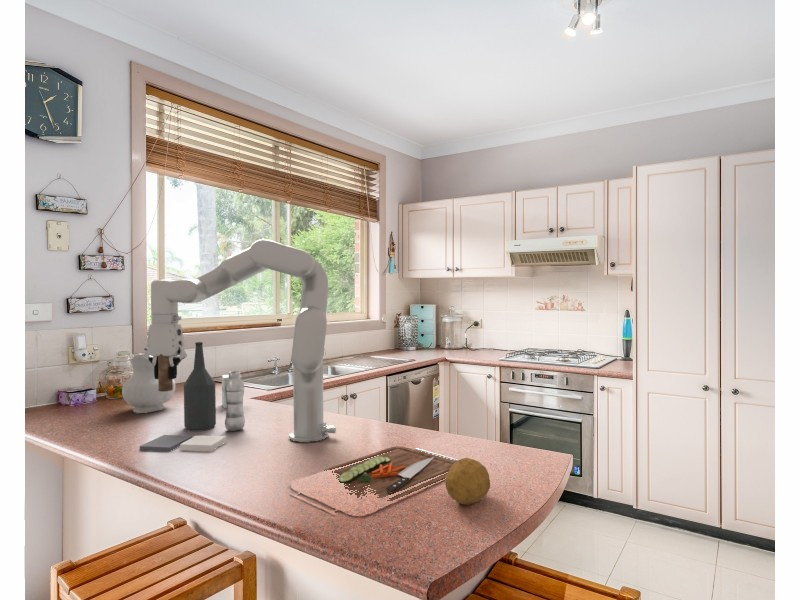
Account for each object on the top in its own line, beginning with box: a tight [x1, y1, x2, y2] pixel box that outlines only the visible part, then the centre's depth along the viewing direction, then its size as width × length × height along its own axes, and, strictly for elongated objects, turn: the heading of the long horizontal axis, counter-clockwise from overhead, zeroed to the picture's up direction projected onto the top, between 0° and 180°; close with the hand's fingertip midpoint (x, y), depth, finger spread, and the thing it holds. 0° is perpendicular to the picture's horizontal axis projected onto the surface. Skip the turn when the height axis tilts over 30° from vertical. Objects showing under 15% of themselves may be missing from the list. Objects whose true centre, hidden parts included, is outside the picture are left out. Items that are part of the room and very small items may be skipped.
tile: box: [179, 435, 227, 452], centre depth 154 cm, size 2×9×10 cm
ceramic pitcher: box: [121, 346, 176, 414], centre depth 204 cm, size 22×20×25 cm
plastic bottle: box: [224, 370, 246, 432], centre depth 172 cm, size 6×7×20 cm
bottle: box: [183, 341, 217, 432], centre depth 176 cm, size 10×10×30 cm
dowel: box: [158, 354, 174, 392], centre depth 156 cm, size 4×4×14 cm
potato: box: [444, 457, 491, 506], centre depth 113 cm, size 10×13×9 cm
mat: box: [139, 434, 194, 452], centre depth 156 cm, size 10×12×1 cm
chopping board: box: [323, 446, 460, 501], centre depth 128 cm, size 45×27×3 cm, turn 137°
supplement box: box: [221, 374, 243, 409], centre depth 209 cm, size 7×7×13 cm
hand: (165, 378), depth 156 cm, fingers closed on dowel, 4 cm apart
